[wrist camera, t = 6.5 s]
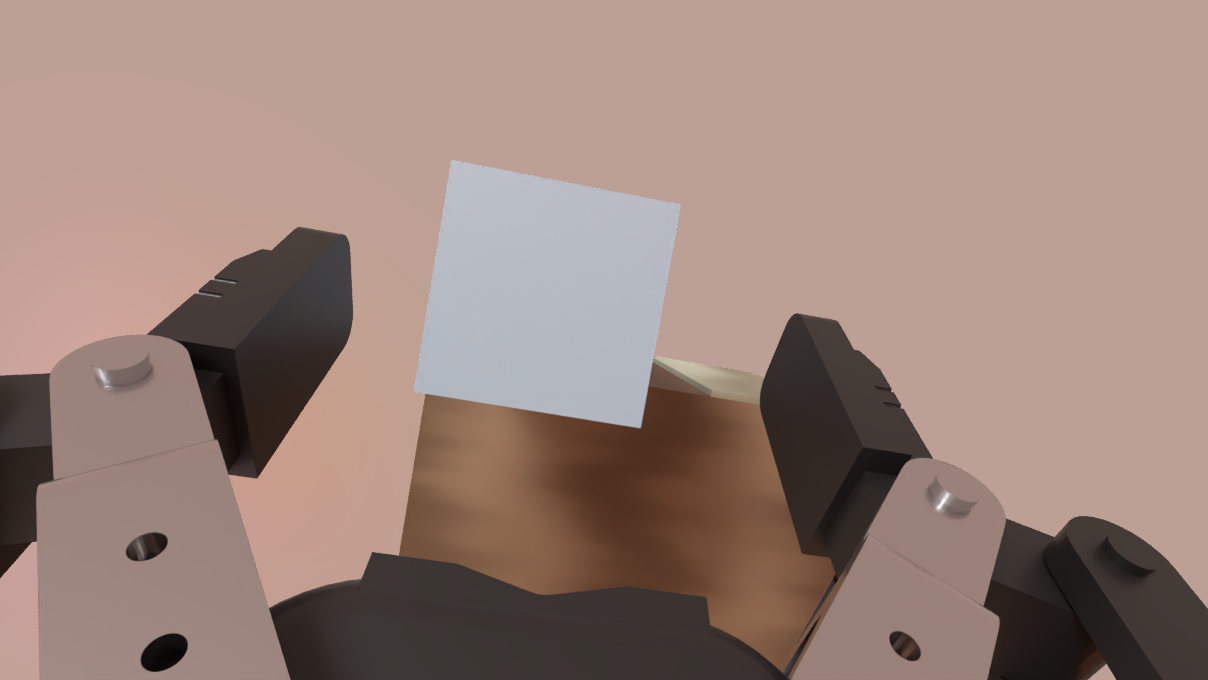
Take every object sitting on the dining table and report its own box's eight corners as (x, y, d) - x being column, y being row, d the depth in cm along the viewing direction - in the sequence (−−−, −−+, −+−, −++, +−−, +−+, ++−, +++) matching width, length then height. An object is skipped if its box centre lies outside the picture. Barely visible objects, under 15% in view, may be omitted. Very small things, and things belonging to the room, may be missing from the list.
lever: (413, 391, 9) (451, 160, 9) (509, 331, 29) (522, 258, 29) (640, 428, 10) (681, 204, 9) (582, 343, 30) (595, 271, 29)
